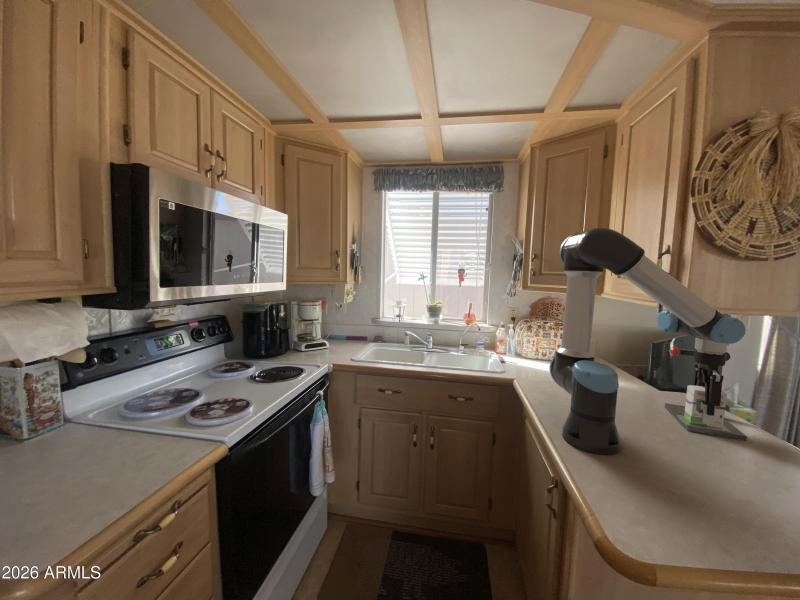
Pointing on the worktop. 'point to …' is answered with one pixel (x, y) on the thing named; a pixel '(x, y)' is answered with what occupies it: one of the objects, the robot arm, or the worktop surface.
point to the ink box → (696, 406)
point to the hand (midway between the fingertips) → (702, 419)
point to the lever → (689, 352)
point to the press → (726, 431)
